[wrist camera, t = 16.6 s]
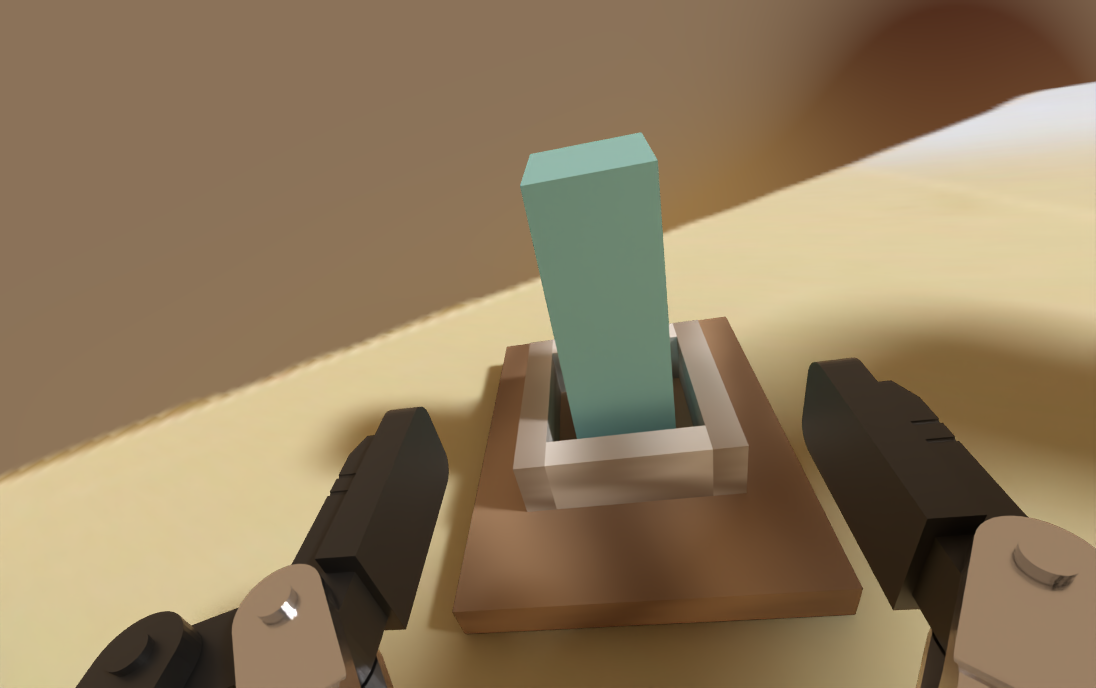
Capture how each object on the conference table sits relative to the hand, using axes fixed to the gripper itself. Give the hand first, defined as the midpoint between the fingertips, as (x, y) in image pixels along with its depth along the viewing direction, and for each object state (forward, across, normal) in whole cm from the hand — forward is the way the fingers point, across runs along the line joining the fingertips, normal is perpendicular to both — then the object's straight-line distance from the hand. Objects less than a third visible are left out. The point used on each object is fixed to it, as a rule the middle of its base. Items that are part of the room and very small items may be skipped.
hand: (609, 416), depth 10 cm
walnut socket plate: (+9, 0, +10) cm, 13 cm away
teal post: (+9, 0, +9) cm, 12 cm away
